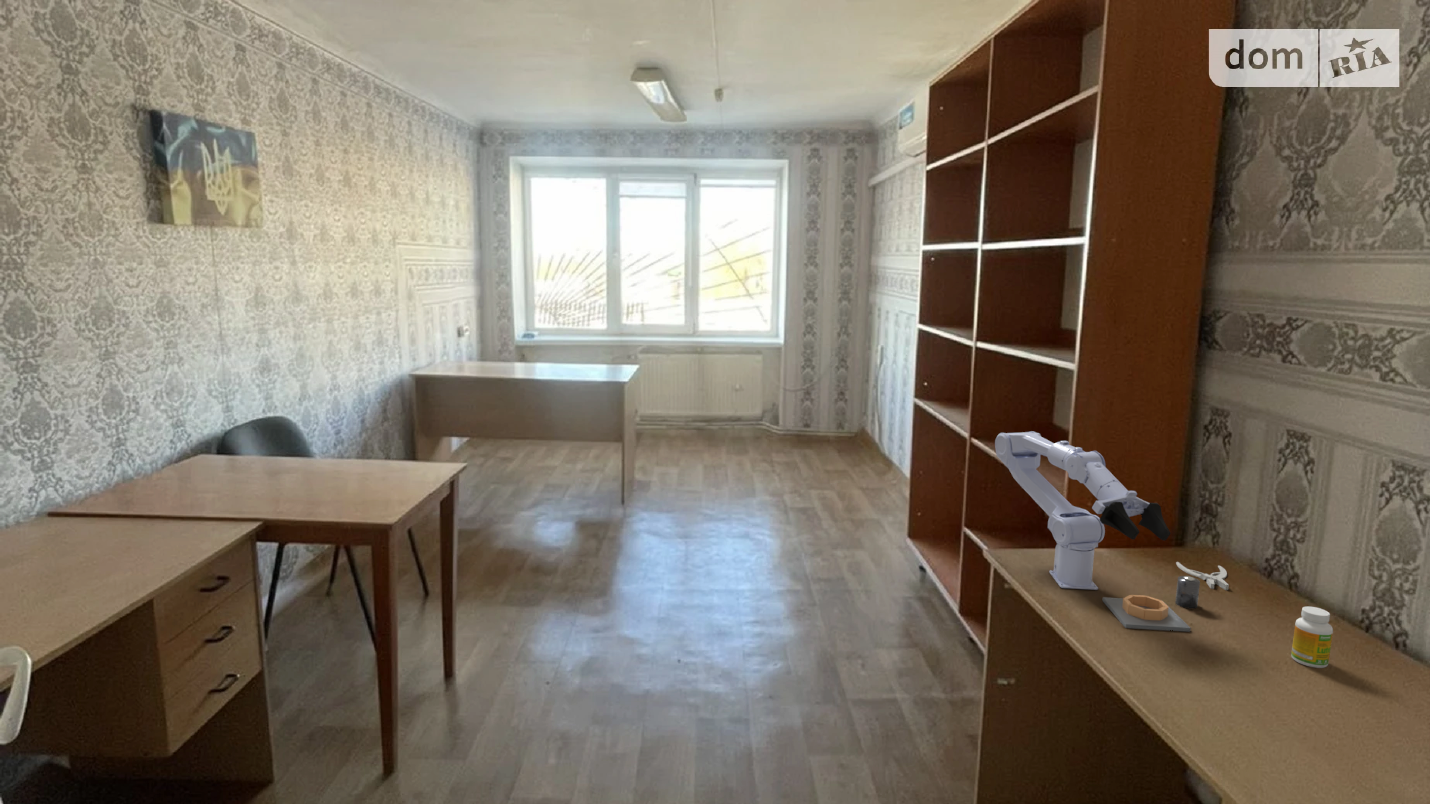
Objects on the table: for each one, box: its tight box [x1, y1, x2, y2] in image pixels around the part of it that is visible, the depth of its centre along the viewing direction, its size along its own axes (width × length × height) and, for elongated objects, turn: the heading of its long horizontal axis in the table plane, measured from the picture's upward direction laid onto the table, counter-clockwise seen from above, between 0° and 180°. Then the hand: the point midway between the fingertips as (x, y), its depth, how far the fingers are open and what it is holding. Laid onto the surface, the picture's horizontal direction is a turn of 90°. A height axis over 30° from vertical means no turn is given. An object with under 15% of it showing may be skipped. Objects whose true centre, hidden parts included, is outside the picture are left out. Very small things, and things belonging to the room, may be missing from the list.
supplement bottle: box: [1290, 606, 1334, 669], centre depth 139 cm, size 5×5×10 cm
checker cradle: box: [1102, 594, 1192, 633], centre depth 158 cm, size 13×12×3 cm
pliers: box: [1175, 561, 1230, 591], centre depth 179 cm, size 10×2×15 cm
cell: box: [1174, 575, 1201, 610], centre depth 163 cm, size 4×4×6 cm
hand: (1151, 536), depth 152 cm, fingers open, 7 cm apart
